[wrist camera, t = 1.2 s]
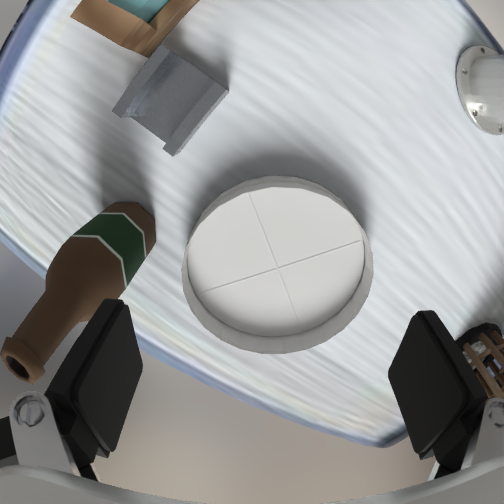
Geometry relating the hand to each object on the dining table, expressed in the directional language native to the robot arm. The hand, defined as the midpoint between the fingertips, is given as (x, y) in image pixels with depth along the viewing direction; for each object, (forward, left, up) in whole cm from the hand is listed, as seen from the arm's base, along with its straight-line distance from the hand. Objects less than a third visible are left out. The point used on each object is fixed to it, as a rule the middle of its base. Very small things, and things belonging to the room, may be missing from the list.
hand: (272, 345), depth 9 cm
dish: (+7, +9, -27) cm, 29 cm away
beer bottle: (+15, -8, -26) cm, 31 cm away
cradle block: (-1, -12, -26) cm, 29 cm away
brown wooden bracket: (-10, -22, -26) cm, 36 cm away
